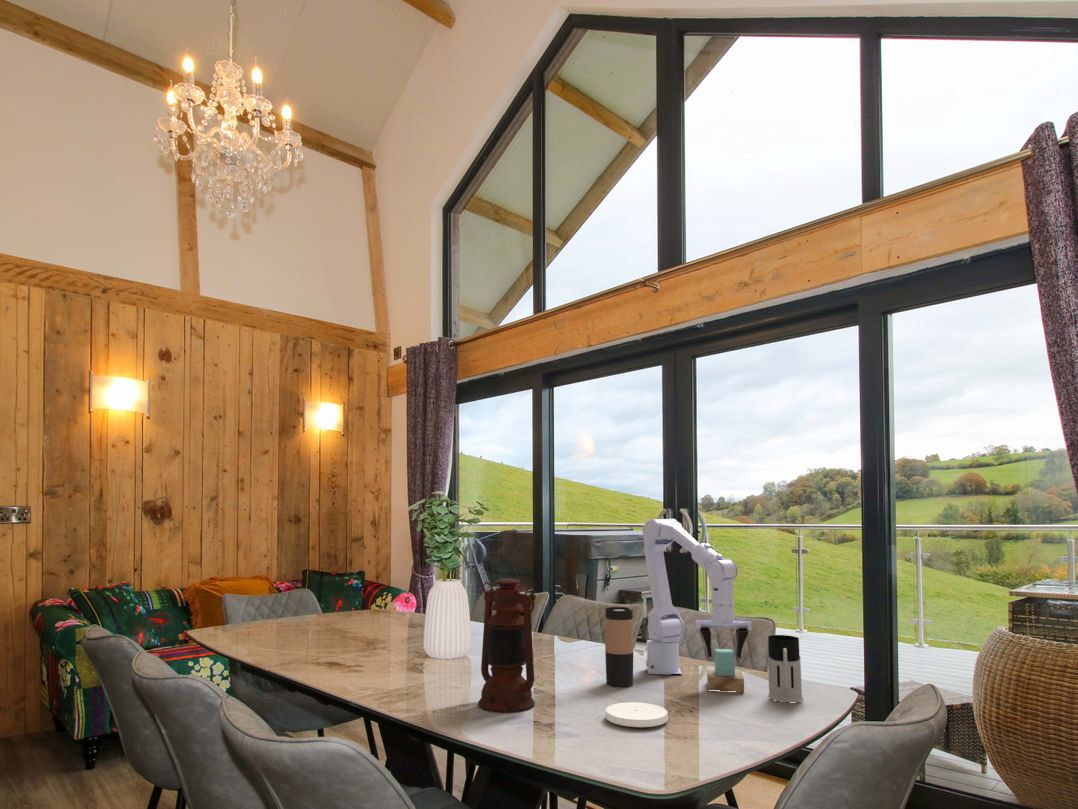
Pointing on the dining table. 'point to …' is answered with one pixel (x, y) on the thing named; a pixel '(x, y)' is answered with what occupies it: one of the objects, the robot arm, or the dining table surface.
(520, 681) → the lantern
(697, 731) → the dining table surface
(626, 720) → the plastic lid
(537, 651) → the dining table surface
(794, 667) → the glass holder
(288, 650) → the dining table surface
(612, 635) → the travel mug
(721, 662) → the teal block
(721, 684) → the walnut base
